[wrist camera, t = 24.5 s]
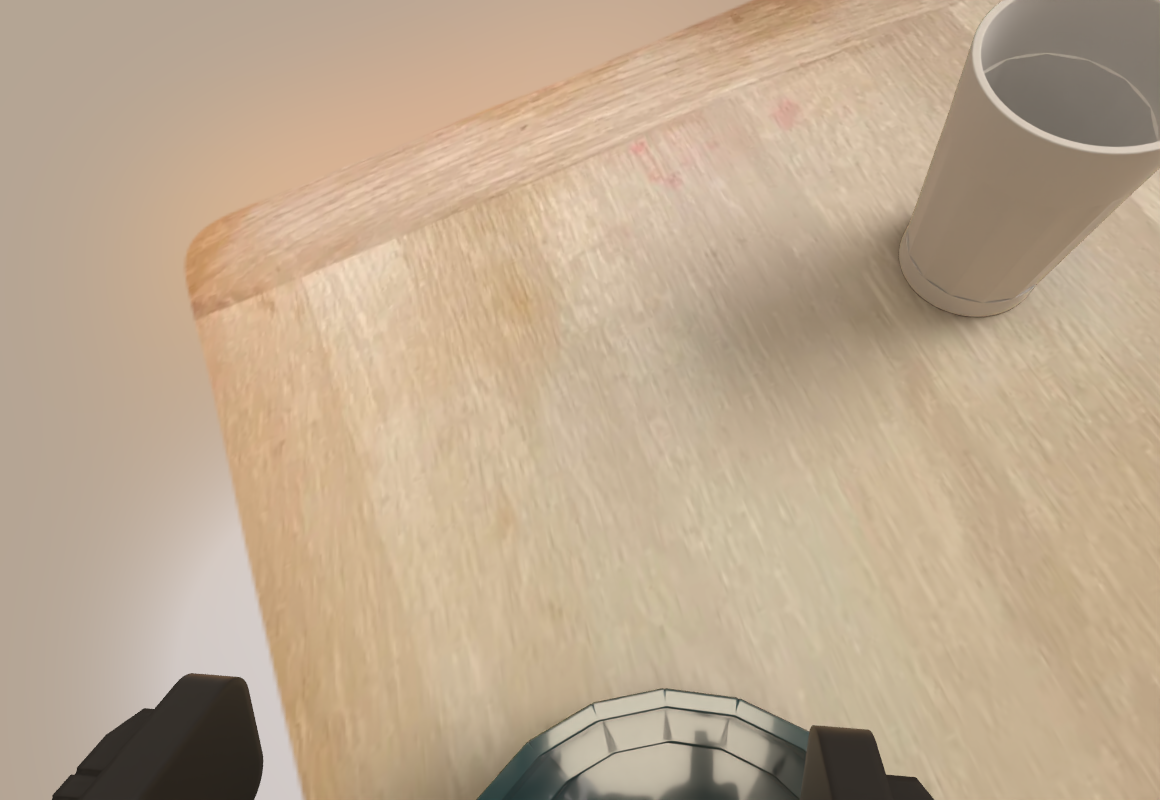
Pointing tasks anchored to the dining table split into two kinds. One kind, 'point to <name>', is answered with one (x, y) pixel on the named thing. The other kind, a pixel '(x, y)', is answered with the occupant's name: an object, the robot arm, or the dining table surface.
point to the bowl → (660, 753)
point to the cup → (1035, 148)
